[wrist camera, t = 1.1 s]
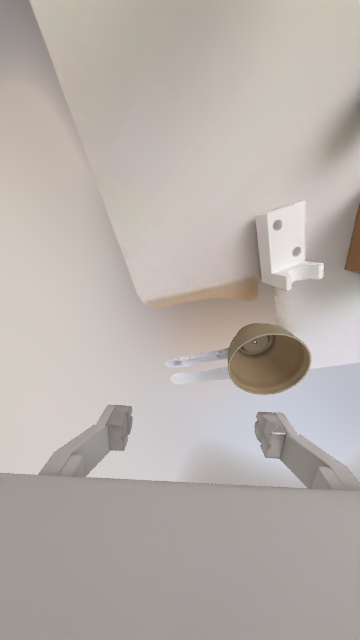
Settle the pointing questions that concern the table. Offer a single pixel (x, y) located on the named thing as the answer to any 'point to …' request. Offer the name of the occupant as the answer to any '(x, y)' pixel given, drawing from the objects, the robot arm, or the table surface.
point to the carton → (354, 248)
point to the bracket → (284, 247)
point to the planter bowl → (267, 359)
